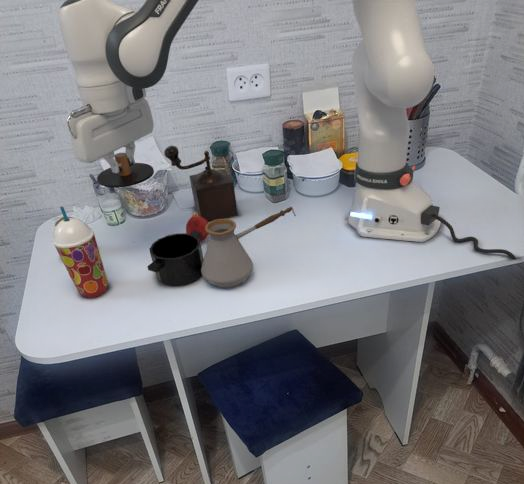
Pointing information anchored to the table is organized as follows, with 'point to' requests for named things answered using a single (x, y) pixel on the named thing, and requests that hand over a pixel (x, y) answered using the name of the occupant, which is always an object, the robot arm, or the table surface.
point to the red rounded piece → (197, 226)
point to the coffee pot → (229, 252)
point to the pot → (177, 259)
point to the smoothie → (80, 256)
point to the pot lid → (125, 173)
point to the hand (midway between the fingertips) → (124, 168)
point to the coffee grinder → (208, 188)
